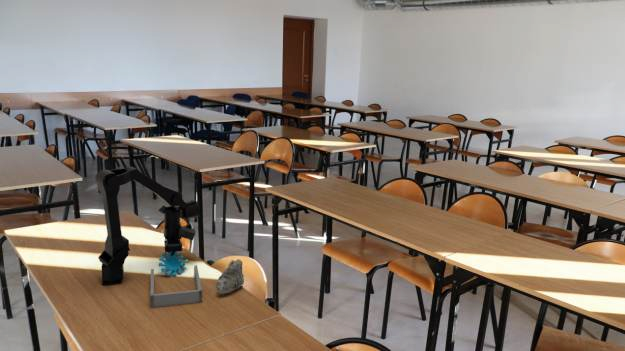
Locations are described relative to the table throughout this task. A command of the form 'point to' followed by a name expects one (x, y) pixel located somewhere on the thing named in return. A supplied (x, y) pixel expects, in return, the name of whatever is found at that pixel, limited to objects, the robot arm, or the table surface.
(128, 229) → the table surface
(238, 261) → the mineral rock
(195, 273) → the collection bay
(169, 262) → the gear
